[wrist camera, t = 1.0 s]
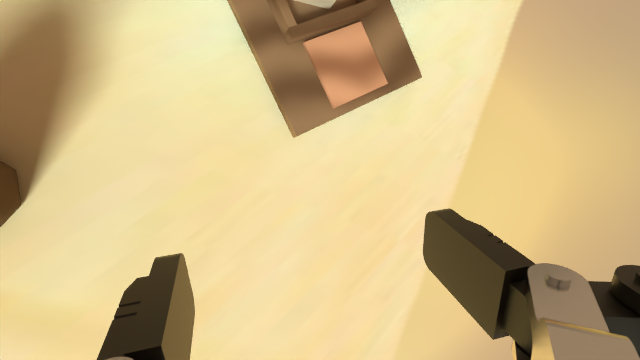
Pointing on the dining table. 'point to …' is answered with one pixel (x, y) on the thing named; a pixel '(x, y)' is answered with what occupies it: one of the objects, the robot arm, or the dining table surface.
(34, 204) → the dining table surface
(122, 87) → the dining table surface
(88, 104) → the dining table surface
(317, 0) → the cream block
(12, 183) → the beer bottle
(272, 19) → the puzzle board
